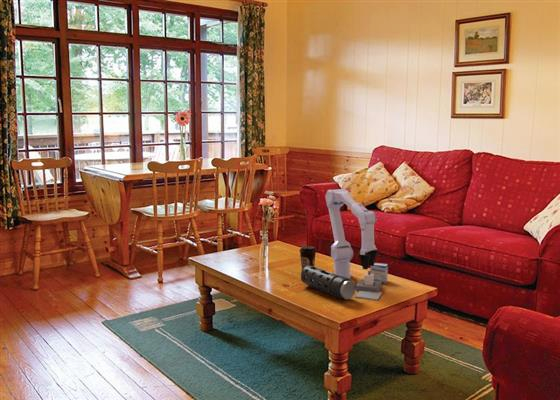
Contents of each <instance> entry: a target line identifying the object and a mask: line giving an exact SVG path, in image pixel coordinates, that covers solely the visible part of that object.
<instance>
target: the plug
mask: <svg viewBox="0 0 560 400" xmlns="http://www.w3.org/2000/svg"><path fill="white" fill-rule="evenodd" d="M363 278H364V279H363V280H364V285H370V286H373V285H374V274H371V271H370V270H368V271H367V272H366V273H365V274H364V277H363Z"/></svg>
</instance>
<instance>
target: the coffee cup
mask: <svg viewBox="0 0 560 400" xmlns="http://www.w3.org/2000/svg"><path fill="white" fill-rule="evenodd" d="M299 253H300V254H299V255H300V256H299V259H300V266H301V270H300V271H301V272H302V270H303V269H304V268H305V267H306V266H308V265H311V266H314V267H315V263H316V254H317V249H316V247H315V246H310V245H303V246H301V247H300V249H299ZM307 272H308V271H307Z"/></svg>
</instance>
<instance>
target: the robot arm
mask: <svg viewBox="0 0 560 400" xmlns="http://www.w3.org/2000/svg"><path fill="white" fill-rule="evenodd" d="M324 197H325V202H326V207H327V208H328V214H329V219H330V223H331V228H332V234H333V240H334V243H332V245H331V246H330V257H331V259H332V261H333V262H334V264H333V265H334V267H333V269H334V271H333V272H334V273H333V274H336V275H339V276H343V277H346V278H349V279H351V278H352V276H353V275H352V274H351V262H350V261H351V259H352V258H353V256H354V250H353V248H352V247H351V243H350V242H349V241H347V240H346V236H345V231H344V227H343V226H344V225H343V220H342V216H341V215H342V214H341V211H340V209H341V207H343V206H344V204H345V205H346V206H347V207H349V208H350V211H351V213H352V214H353V215H354V217H356V218H357V219H358V223H359V228H360V229H361V233H360V234H361V248H360V250H359V253H357V257H358V258H359V260H360V263H361V266H362V269H363V270H365V271H366V270H369V267H370V266H374V263H376V262H375V261H376V257H377V255H378V253H379V250H378V248H377V247H376V244H375V224H376V222H377V220H378V219H377V218H378V217H377V213H375V212H374V211H373V210H368V209H367V208H366V207H365V206H364V205H363V203H361V202H356V201H355V200H354V198H352V197H351V196H350V193H349V190H347V189H346V188H342V189H341V188H340V189H328V190H327V191H326V193H325V196H324Z"/></svg>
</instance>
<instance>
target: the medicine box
mask: <svg viewBox="0 0 560 400" xmlns="http://www.w3.org/2000/svg"><path fill="white" fill-rule="evenodd" d="M369 267H370V268H369V269H370V270H369V271H371V274H374V281H379V282H382V284H387V282H388V273H389V263H381V262H380V263H379V262H374V266H369Z"/></svg>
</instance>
